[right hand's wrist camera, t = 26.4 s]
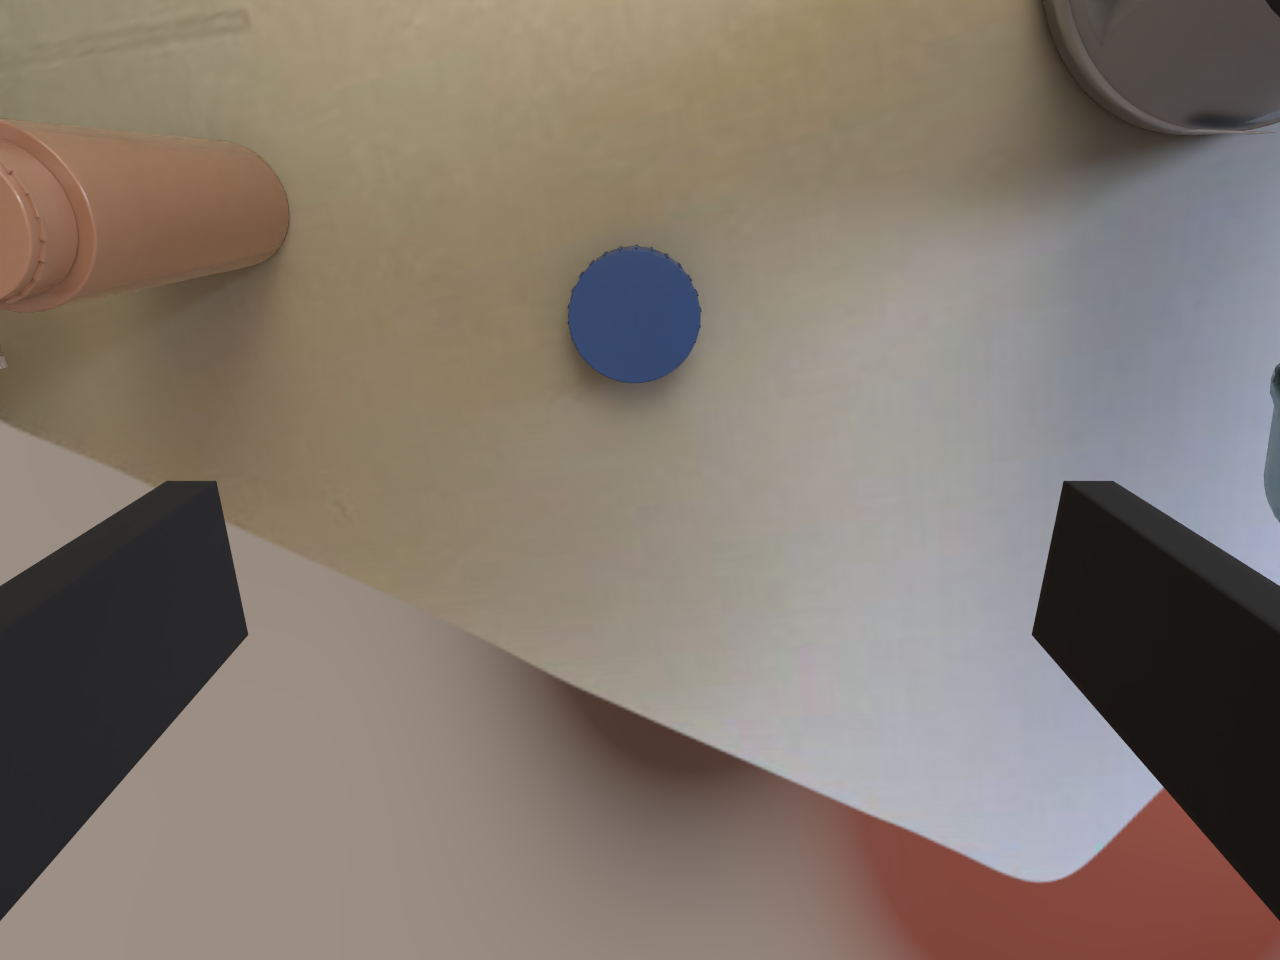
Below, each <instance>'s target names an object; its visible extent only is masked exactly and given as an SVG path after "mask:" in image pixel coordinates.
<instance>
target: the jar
mask: <svg viewBox="0 0 1280 960" xmlns="http://www.w3.org/2000/svg"><path fill="white" fill-rule="evenodd" d="M288 223H289V208H288V202H287V198H286V194H285V192H284V189H283V186H282V184H281V183H280V181H279V179H278V177H277V176H276V174H275V173H274V171H273V170H272V169H271V168H270V166H269V165H268V164H267V163H266V162H265V161H264V160H263V159H262V158H261V157H259V156H258V155H257V154H255V153H254V152H252V151H251V150H249V149H247V148H246V147H243V146H241V145H239V144H236V143H232V142H228V141H221V140H211V139H202V138H192V137H182V136H172V135H162V134H152V133H142V132H132V131H122V130H112V129H102V128H92V127H82V126H72V125H62V124H52V123H42V122H32V121H22V120H12V119H2V118H0V308H1V309H5V310H8V311H15V312H40V311H46V310H51V309H56V308H60V307H65V306H70V305H74V304H79V303H84V302H88V301H93V300H97V299H102V298H107V297H111V296H116V295H121V294H125V293H130V292H135V291H139V290H144V289H149V288H153V287H158V286H162V285H167V284H172V283H176V282H181V281H186V280H190V279H195V278H200V277H204V276H209V275H213V274H218V273H223V272H227V271H232V270H237V269H241V268H246V267H250V266H254V265H257V264H260V263H262V262H264V261H265V260H267V259H269V258H270V257H271V256H272V255H273V254H274V253H275V252H276V251H277V250H278V249H279V247H280V246H281V244H282V242H283V241H284V238H285V236H286V233H287V229H288Z"/></svg>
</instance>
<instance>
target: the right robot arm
mask: <svg viewBox="0 0 1280 960" xmlns="http://www.w3.org/2000/svg"><path fill="white" fill-rule="evenodd" d="M1043 4H1044V9H1045V13H1046V18H1047V22H1048V25H1049V29H1050V32H1051V35H1052V38H1053V41H1054V43H1055V45H1056V47H1057V50H1058V52H1059V54H1060V56H1061V58H1062V60H1063V62H1064V63H1065V65H1066V67H1067V69H1068V70H1069V72H1070V74H1071V75H1072V76H1073V78H1074V79H1075V80H1076V81H1077V83H1078V84H1079V85H1080V87H1081V88H1082V89H1083V90H1084V91H1085V92H1086V93H1087V94H1088V95H1089V96H1090V97H1091V98H1092V99H1093V100H1094V101H1095V102H1097V103H1098V104H1099V105H1100V106H1101V107H1103V108H1104V109H1105V110H1107V111H1108V112H1110V113H1111V114H1113V115H1115V116H1116V117H1118V118H1120V119H1122V120H1124V121H1126V122H1128V123H1130V124H1132V125H1135V126H1138V127H1141V128H1144V129H1147V130H1150V131H1155V132H1160V133H1165V134H1175V135H1205V134H1216V133H1241V134H1262V133H1275V132H1258V131H1244V130H1251V129H1255V128H1259V127H1264V126H1268V125H1271V124H1274V123H1277V122H1280V0H1043ZM1270 393H1271V396H1272V399H1273V402H1274V411H1273V417H1272V424H1271V431H1270V437H1269V444H1268V450H1267V457H1266V463H1265V470H1264V486H1265V492H1266V496H1267V499H1268V502H1269V505H1270V507H1271V509H1272V511H1273V513H1274V515H1275V517H1276V518H1277V520H1278V521H1279V522H1280V364H1278V365H1277V366H1276V368H1275V370H1274V373H1273V375H1272V378H1271V387H1270ZM247 636H248V632H247V627H246V622H245V617H244V612H243V607H242V603H241V598H240V593H239V588H238V583H237V579H236V574H235V569H234V564H233V559H232V554H231V550H230V545H229V540H228V535H227V531H226V525H225V521H224V516H223V511H222V506H221V501H220V497H219V492H218V487H217V482H216V481H166V482H165V483H163V484H161V485H160V486H158V487H157V488H155V489H153V490H152V491H150V492H149V493H147V494H146V495H144V496H142V497H141V498H139V499H138V500H136V501H134V502H133V503H131V504H130V505H128V506H126V507H125V508H123V509H122V510H120V511H119V512H117V513H115V514H114V515H112V516H111V517H109V518H107V519H106V520H104V521H103V522H101V523H100V524H98V525H96V526H95V527H93V528H92V529H90V530H88V531H87V532H85V533H84V534H82V535H81V536H79V537H77V538H76V539H74V540H73V541H71V542H69V543H68V544H66V545H65V546H63V547H61V548H60V549H58V550H57V551H55V552H54V553H52V554H50V555H49V556H47V557H46V558H44V559H42V560H41V561H39V562H38V563H36V564H35V565H33V566H31V567H30V568H28V569H27V570H25V571H24V572H22V573H20V574H19V575H17V576H16V577H14V578H12V579H11V580H9V581H8V582H6V583H4V584H3V585H1V586H0V921H1V919H2V918H3V917H4V916H5V915H6V914H7V912H8V911H9V910H10V909H11V908H12V907H13V906H14V904H15V903H16V902H17V901H18V900H19V899H20V897H21V896H22V895H23V894H24V893H25V892H26V891H27V889H28V888H29V887H30V886H31V885H32V884H33V882H34V881H35V880H36V879H37V878H38V877H39V876H40V874H41V873H42V872H43V871H44V870H45V869H46V867H47V866H48V865H49V864H50V863H51V862H52V861H53V859H54V858H55V857H56V856H57V855H58V854H59V853H60V851H61V850H62V849H63V848H64V847H65V846H66V844H67V843H68V842H69V841H70V840H71V839H72V838H73V836H74V835H75V834H76V833H77V832H78V831H79V829H80V828H81V827H82V826H83V825H84V824H85V822H86V821H87V820H88V819H89V818H90V817H91V816H92V814H93V813H94V812H95V811H96V810H97V809H98V807H99V806H100V805H101V804H102V803H103V802H104V801H105V799H106V798H107V797H108V796H109V795H110V794H111V792H112V791H113V790H114V789H115V788H116V787H117V786H118V784H119V783H120V782H121V781H122V780H123V779H124V777H125V776H126V775H127V774H128V773H129V772H130V771H131V769H132V768H133V767H134V766H135V765H136V764H137V762H138V761H139V760H140V759H141V758H142V757H143V756H144V754H145V753H146V752H147V751H148V750H149V749H150V747H151V746H152V745H153V744H154V743H155V742H156V741H157V739H158V738H159V737H160V736H161V735H162V734H163V732H164V731H165V730H166V729H167V728H168V727H169V726H170V724H171V723H172V722H173V721H174V720H175V719H176V717H177V716H178V715H179V714H180V713H181V712H182V711H183V709H184V708H185V707H186V706H187V705H188V704H189V702H190V701H191V700H192V699H193V698H194V697H195V696H196V694H197V693H198V692H199V691H200V690H201V689H202V687H203V686H204V685H205V684H206V683H207V682H208V680H209V679H210V678H211V677H212V676H213V675H214V674H215V672H216V671H217V670H218V669H219V668H220V667H221V666H222V664H223V663H224V662H225V661H226V660H227V659H228V657H229V656H230V655H231V654H232V653H233V652H234V651H235V649H236V648H237V647H238V646H239V645H240V644H241V642H242V641H243V640H244V639H245V638H246V637H247ZM1032 636H1033V637H1034V638H1035V639H1036V640H1037V641H1038V642H1039V644H1040V645H1041V646H1042V647H1043V648H1044V649H1045V651H1046V652H1047V653H1048V654H1049V655H1050V656H1051V657H1052V659H1053V660H1054V661H1055V662H1056V663H1057V664H1058V666H1059V667H1060V668H1061V669H1062V670H1063V671H1064V672H1065V674H1066V675H1067V676H1068V677H1069V678H1070V679H1071V681H1072V682H1073V683H1074V684H1075V685H1076V686H1077V687H1078V689H1079V690H1080V691H1081V692H1082V693H1083V694H1084V696H1085V697H1086V698H1087V699H1088V700H1089V701H1090V702H1091V704H1092V705H1093V706H1094V707H1095V708H1096V709H1097V711H1098V712H1099V713H1100V714H1101V715H1102V716H1103V717H1104V719H1105V720H1106V721H1107V722H1108V723H1109V724H1110V726H1111V727H1112V728H1113V729H1114V730H1115V731H1116V732H1117V734H1118V735H1119V736H1120V737H1121V738H1122V739H1123V741H1124V742H1125V743H1126V744H1127V745H1128V746H1129V747H1130V749H1131V750H1132V751H1133V752H1134V753H1135V754H1136V756H1137V757H1138V758H1139V759H1140V760H1141V761H1142V762H1143V764H1144V765H1145V766H1146V767H1147V768H1148V769H1149V771H1150V772H1151V773H1152V774H1153V775H1154V776H1155V777H1156V779H1157V780H1158V781H1159V782H1160V783H1161V784H1162V786H1163V787H1164V788H1165V789H1166V790H1167V791H1168V792H1169V794H1170V795H1171V796H1172V797H1173V798H1174V799H1175V801H1176V802H1177V803H1178V804H1179V805H1180V806H1181V807H1182V809H1183V810H1184V811H1185V812H1186V813H1187V814H1188V816H1189V817H1190V818H1191V819H1192V820H1193V821H1194V822H1195V824H1196V825H1197V826H1198V827H1199V828H1200V829H1201V831H1202V832H1203V833H1204V834H1205V835H1206V836H1207V837H1208V839H1209V840H1210V841H1211V842H1212V843H1213V844H1214V846H1215V847H1216V848H1217V849H1218V850H1219V851H1220V853H1221V854H1222V855H1223V856H1224V857H1225V858H1226V859H1227V860H1228V862H1229V863H1230V864H1231V865H1232V866H1233V868H1234V869H1235V870H1236V871H1237V872H1238V873H1239V874H1240V876H1241V877H1242V878H1243V879H1244V880H1245V881H1246V882H1247V884H1248V885H1249V886H1250V887H1251V888H1252V889H1253V891H1254V892H1255V893H1256V894H1257V895H1258V896H1259V897H1260V899H1261V900H1262V901H1263V902H1264V903H1265V904H1266V906H1267V907H1268V908H1269V909H1270V910H1271V911H1272V913H1273V914H1274V915H1275V916H1276V917H1277V918H1278V919H1279V921H1280V586H1279V585H1277V584H1276V583H1274V582H1272V581H1271V580H1269V579H1268V578H1266V577H1264V576H1263V575H1261V574H1260V573H1258V572H1257V571H1255V570H1253V569H1252V568H1250V567H1249V566H1247V565H1245V564H1244V563H1242V562H1241V561H1239V560H1238V559H1236V558H1234V557H1233V556H1231V555H1230V554H1228V553H1226V552H1225V551H1223V550H1222V549H1220V548H1219V547H1217V546H1215V545H1214V544H1212V543H1211V542H1209V541H1207V540H1206V539H1204V538H1203V537H1201V536H1199V535H1198V534H1196V533H1195V532H1193V531H1192V530H1190V529H1188V528H1187V527H1185V526H1184V525H1182V524H1180V523H1179V522H1177V521H1176V520H1174V519H1173V518H1171V517H1169V516H1168V515H1166V514H1165V513H1163V512H1161V511H1160V510H1158V509H1157V508H1155V507H1154V506H1152V505H1150V504H1149V503H1147V502H1146V501H1144V500H1142V499H1141V498H1139V497H1138V496H1136V495H1134V494H1133V493H1131V492H1130V491H1128V490H1127V489H1125V488H1123V487H1122V486H1120V485H1119V484H1117V483H1115V482H1114V481H1064V482H1063V487H1062V492H1061V497H1060V501H1059V506H1058V511H1057V516H1056V521H1055V525H1054V530H1053V535H1052V540H1051V545H1050V550H1049V554H1048V559H1047V564H1046V569H1045V574H1044V579H1043V583H1042V588H1041V593H1040V598H1039V603H1038V607H1037V612H1036V617H1035V622H1034V627H1033V632H1032Z"/></svg>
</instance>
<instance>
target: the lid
mask: <svg viewBox="0 0 1280 960" xmlns="http://www.w3.org/2000/svg"><path fill="white" fill-rule="evenodd" d="M579 278H580V280H579V281H578V283H577V285H576V286H574V288H573V289H572V293H573V294H572V297H571V300H570V304H569V305H568V308H569V315H568V317H569V321H568V324H569V328H570V333H571V336H572V340H573V342H574V344H575V346H576V348H577V350H578V352H579V353H580V355H581V356H582V357H583V359H584V360H585V361H586V362H587V363H588V364H589V365H590V366H591V367H592V368H593V369H595V370H596V371H597V372H599V373H600V374H602V375H604V376H606V377H608V378H611V379H613V380H616V381H621V382H626V383H643V382H649V381H653V380H656V379H659V378H661V377H663V376H665V375H667V374H669V373H670V372H672V371H673V370H674V369H676V368H677V367H678V366H679V365H680V364H681V363H682V362H683V361H684V360H685V359H686V357H687V356H688V355H689V353H690V352H691V350H692V348H693V346H694V344H695V343H696V339H697V336H698V332H699V328H700V312H701V308H700V306H699V302H698V298H697V296H699V295H698V293H697V291H696V289H694V287H693V285H692V283H691V281H692V280H691V278H690V276H689V275H688V276H687V274H686V273H685V272H684V271H683V269H682V267H681V265H680V263H678V264H677V263H676V262H675V261H674V260H672V259H671V258H670V257H669V256H668V254H667V253H665V254H663V253H661V252H659V251H656V250H654V249H653V247H651V249H650V248H646V247H638V245H635V247H624V248H622V246H620V247H619V249H616V250H613V251H610V252H608V253H607V251H606V252H604V254H603V256H601V257H599V258H598V259H597V260H595V261H594V260H593V261H592V262H591V263H590V266H589V267H588V268H587V269H586V271H585V272H582V273H581V275H580V276H579Z"/></svg>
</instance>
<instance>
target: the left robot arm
mask: <svg viewBox="0 0 1280 960" xmlns="http://www.w3.org/2000/svg"><path fill="white" fill-rule="evenodd" d="M3 368H7V363H6V360H5V357H4V355H3V351H2V348H1V346H0V369H3Z"/></svg>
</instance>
